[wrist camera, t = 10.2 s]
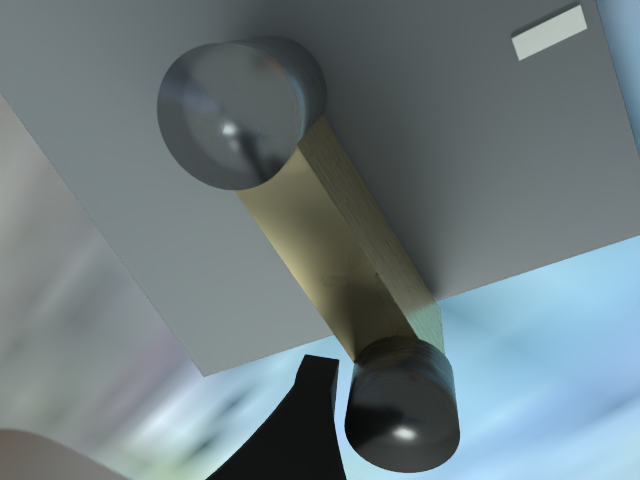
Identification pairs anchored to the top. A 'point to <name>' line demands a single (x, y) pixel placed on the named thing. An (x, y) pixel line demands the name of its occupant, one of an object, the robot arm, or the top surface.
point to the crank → (320, 234)
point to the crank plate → (352, 132)
